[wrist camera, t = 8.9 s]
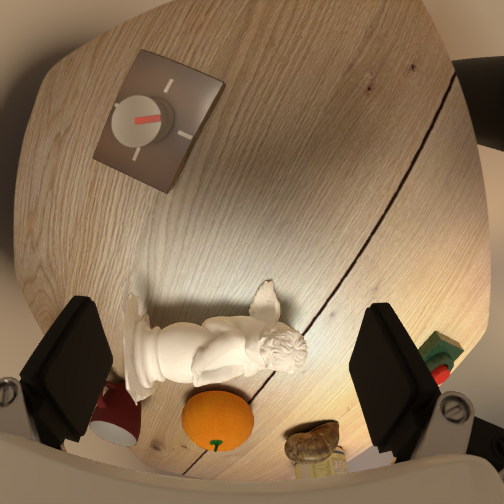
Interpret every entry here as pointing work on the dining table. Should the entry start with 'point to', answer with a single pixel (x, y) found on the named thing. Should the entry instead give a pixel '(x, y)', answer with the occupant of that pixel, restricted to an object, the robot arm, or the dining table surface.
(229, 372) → the angel figurine
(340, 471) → the supplement tub
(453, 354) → the box
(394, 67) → the dining table surface
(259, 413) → the dining table surface
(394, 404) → the robot arm
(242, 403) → the fruit
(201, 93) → the dial panel
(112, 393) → the mug
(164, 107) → the dial
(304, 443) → the seashell
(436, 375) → the button
